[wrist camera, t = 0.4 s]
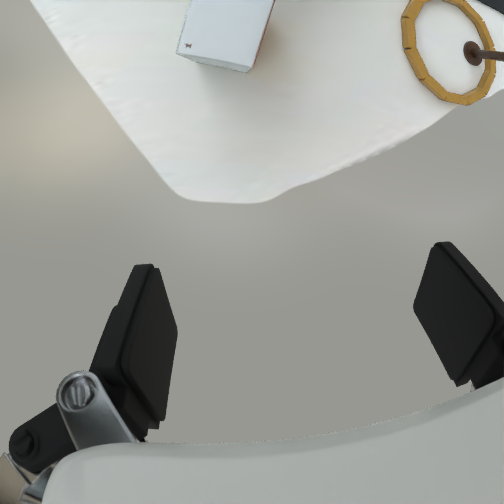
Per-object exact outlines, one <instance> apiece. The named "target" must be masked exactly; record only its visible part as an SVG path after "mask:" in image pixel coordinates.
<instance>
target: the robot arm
mask: <svg viewBox="0 0 504 504" xmlns="http://www.w3.org/2000/svg"><path fill="white" fill-rule="evenodd" d="M413 309H414V312H415V314H416V316H417V318H418V319H419V321H420V323H421V325H422V326H423V328H424V330H425V332H426V333H427V335H428V337H429V339H430V340H431V343H432V344H433V346H434V348H435V350H436V352H437V354H438V356H439V358H440V360H441V362H442V363H443V365H444V367H445V369H446V371H447V373H448V375H449V377H450V379H451V380H454V382H455V384H456V387H458V386H461V385H463V384H466V383H468V381H469V380H470V379H471V381H472V386H471V391H470V392H469V393H467V394H465V395H462V396H460V397H457V398H455V399H452V400H449V401H447V402H444V403H441V404H438V405H436V406H432V407H430V408H426V409H424V410H420V411H418V412H414V413H411V414H408V415H404V416H401V417H397V418H394V419H390V420H386V421H382V422H378V423H374V424H370V425H366V426H362V427H357V428H353V429H347V430H342V431H337V432H331V433H326V434H319V435H313V436H306V437H299V438H291V439H281V440H272V441H258V442H242V443H214V444H213V443H212V444H187V443H149V442H148V441H147V439H146V438H145V436H147V433H148V429H159V423H160V421H164V419H165V415H166V408H167V401H168V394H169V386H170V380H171V373H172V367H173V360H174V354H175V348H176V342H177V334H178V333H177V326H176V323H175V319H174V316H173V313H172V310H171V307H170V303H169V300H168V297H167V293H166V290H165V287H164V283H163V280H162V276H161V273H160V270H159V268H154V266H153V264H141V265H135V266H134V267H133V270H132V272H131V274H130V276H129V279H128V281H127V283H126V286H125V288H124V290H123V293H122V295H121V297H120V300H119V302H118V305H116V306H115V307H114V308H113V309H112V311H111V313H110V316H109V319H108V321H107V324H106V326H105V329H104V331H103V334H102V336H101V339H100V342H99V344H98V347H97V350H96V353H95V355H94V358H93V361H92V363H91V367H90V369H89V371H84V370H83V371H76V372H73V373H71V374H69V375H68V376H66V377H65V378H64V379H63V380H62V381H61V383H60V384H59V386H58V389H57V392H56V401H57V403H55V404H54V405H52V406H51V407H49V408H48V409H46V410H45V411H43V412H41V413H40V414H38V415H37V416H35V417H34V418H32V419H31V420H29V421H27V422H26V423H24V424H23V425H21V426H19V427H18V428H17V429H16V430H15V431H14V432H13V434H12V435H11V437H10V441H9V452H10V453H9V454H6V453H3V454H2V456H1V457H0V504H504V302H503V301H502V300H501V298H500V297H499V296H498V294H497V293H496V292H495V291H494V289H493V288H492V287H491V286H490V285H489V283H488V282H487V281H486V280H485V279H484V278H483V277H482V276H481V274H480V273H479V272H478V271H477V270H476V269H475V267H474V266H473V265H472V264H471V263H470V262H469V261H468V260H467V259H466V257H465V256H464V255H463V254H462V253H461V252H460V251H459V250H458V249H457V248H456V247H455V246H454V245H453V244H452V243H451V242H437V243H435V245H434V247H432V248H431V250H430V253H429V257H428V260H427V264H426V267H425V270H424V273H423V277H422V280H421V283H420V286H419V289H418V292H417V295H416V298H415V300H414V304H413Z"/></svg>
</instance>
